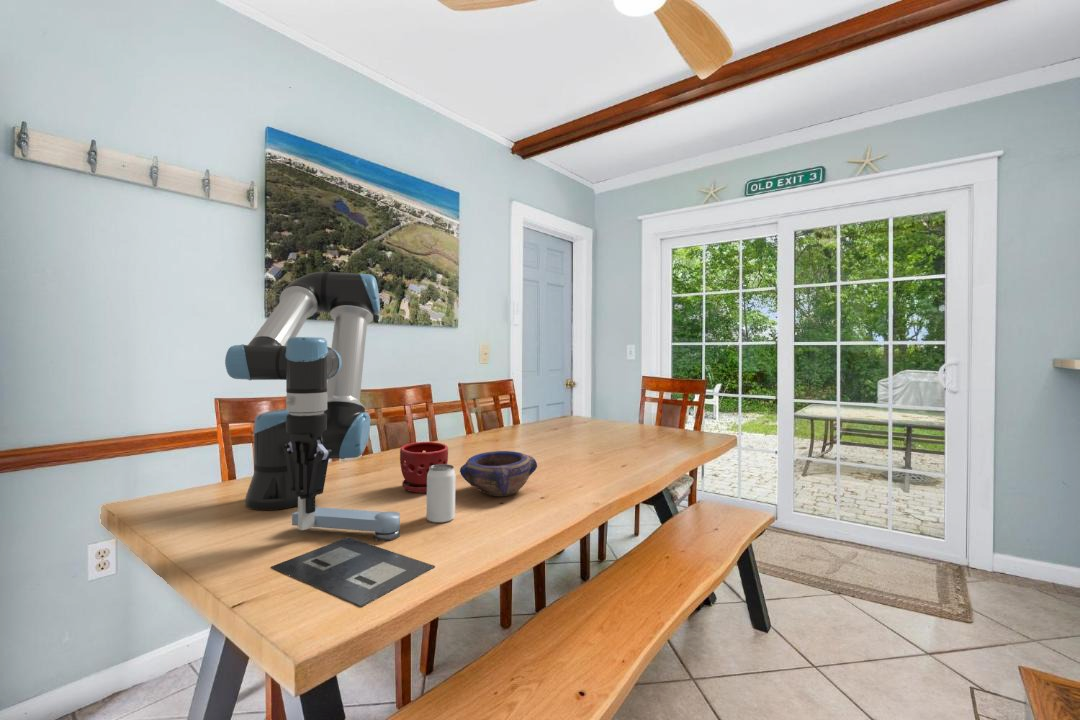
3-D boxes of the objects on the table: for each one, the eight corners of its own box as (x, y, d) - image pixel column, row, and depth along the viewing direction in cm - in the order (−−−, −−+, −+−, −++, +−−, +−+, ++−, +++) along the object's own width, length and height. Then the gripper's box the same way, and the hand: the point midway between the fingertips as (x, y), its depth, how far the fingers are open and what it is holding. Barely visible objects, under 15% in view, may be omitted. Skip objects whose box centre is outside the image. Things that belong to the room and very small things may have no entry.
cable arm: (306, 517, 106) (307, 505, 105) (403, 525, 102) (404, 512, 102) (292, 526, 101) (292, 512, 100) (393, 534, 97) (393, 520, 97)
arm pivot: (369, 537, 99) (369, 531, 99) (388, 530, 104) (388, 524, 104) (386, 543, 97) (386, 537, 97) (404, 535, 101) (404, 529, 101)
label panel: (271, 567, 85) (271, 566, 85) (348, 537, 99) (348, 536, 99) (361, 607, 73) (361, 605, 73) (434, 567, 87) (434, 565, 87)
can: (448, 524, 107) (449, 471, 107) (421, 522, 109) (422, 469, 108) (459, 515, 114) (459, 464, 113) (433, 512, 115) (434, 463, 115)
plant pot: (389, 489, 133) (390, 446, 133) (428, 479, 144) (429, 439, 143) (418, 499, 125) (419, 453, 125) (457, 488, 135) (457, 446, 135)
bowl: (451, 494, 130) (451, 457, 130) (494, 479, 145) (494, 446, 145) (502, 507, 120) (503, 467, 120) (543, 490, 135) (543, 455, 134)
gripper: (270, 412, 98) (269, 526, 98) (309, 417, 91) (309, 540, 92) (304, 408, 104) (303, 515, 105) (343, 413, 98) (342, 528, 98)
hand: (306, 527), depth 98 cm, fingers closed
